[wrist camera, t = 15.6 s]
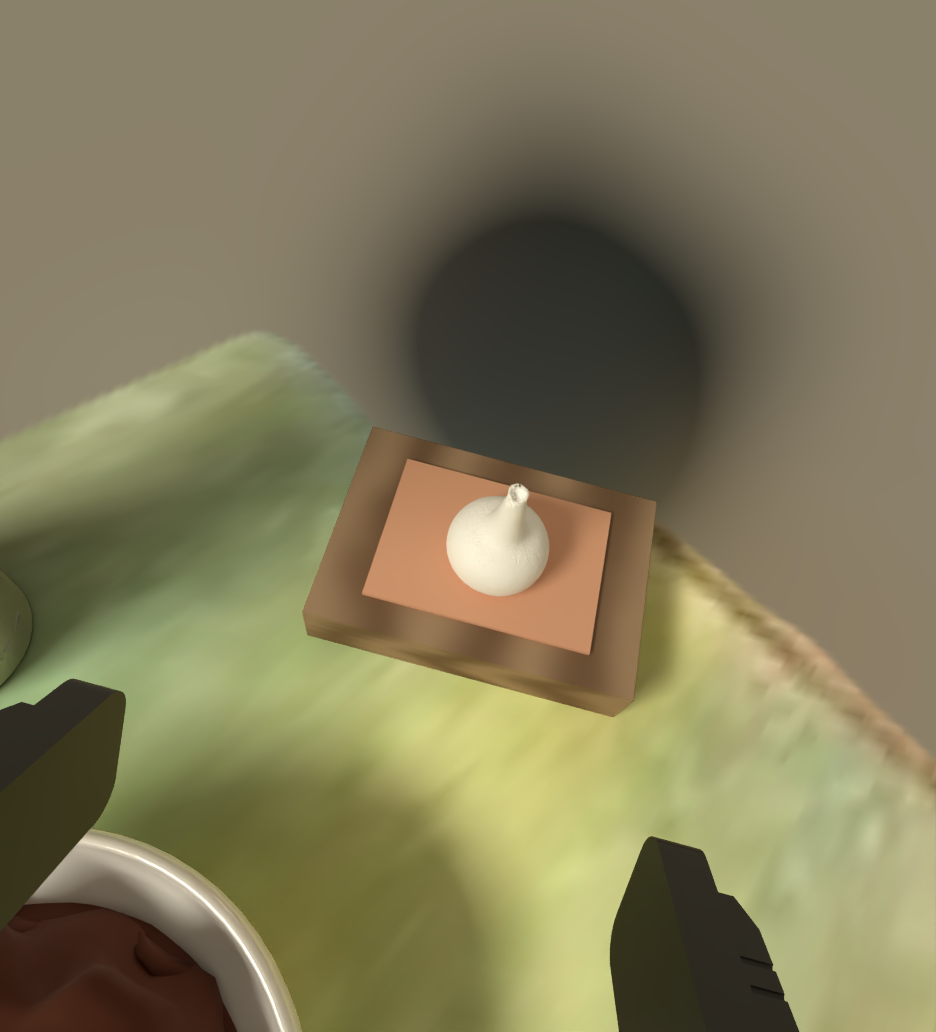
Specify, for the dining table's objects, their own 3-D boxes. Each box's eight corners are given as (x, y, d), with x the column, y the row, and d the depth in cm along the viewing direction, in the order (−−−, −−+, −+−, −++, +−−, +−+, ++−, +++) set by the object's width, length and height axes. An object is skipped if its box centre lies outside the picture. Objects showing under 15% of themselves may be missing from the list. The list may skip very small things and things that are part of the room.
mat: (361, 594, 43) (361, 592, 43) (407, 461, 48) (407, 458, 48) (588, 655, 43) (589, 653, 42) (610, 515, 48) (611, 512, 47)
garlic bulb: (426, 569, 44) (429, 516, 37) (477, 492, 47) (488, 429, 40) (514, 621, 43) (535, 577, 36) (561, 540, 46) (589, 483, 39)
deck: (307, 634, 45) (302, 611, 42) (372, 458, 52) (372, 426, 49) (613, 717, 45) (633, 700, 42) (637, 529, 52) (656, 501, 49)
